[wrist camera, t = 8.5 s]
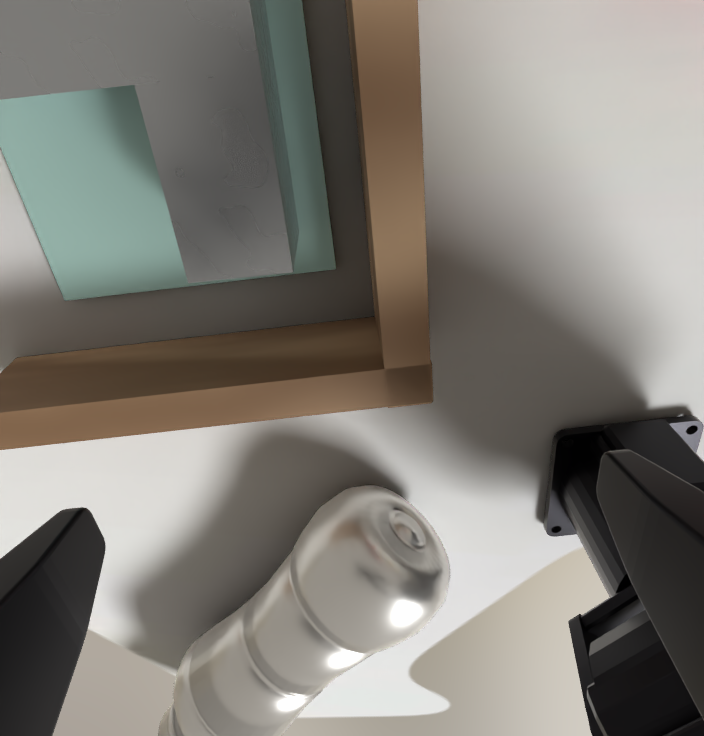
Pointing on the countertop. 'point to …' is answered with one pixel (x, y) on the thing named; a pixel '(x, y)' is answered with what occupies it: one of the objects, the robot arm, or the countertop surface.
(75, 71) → the bracket
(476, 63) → the countertop surface
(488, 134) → the countertop surface
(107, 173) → the pad
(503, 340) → the countertop surface
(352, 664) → the plastic bottle
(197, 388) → the wooden corner wall
